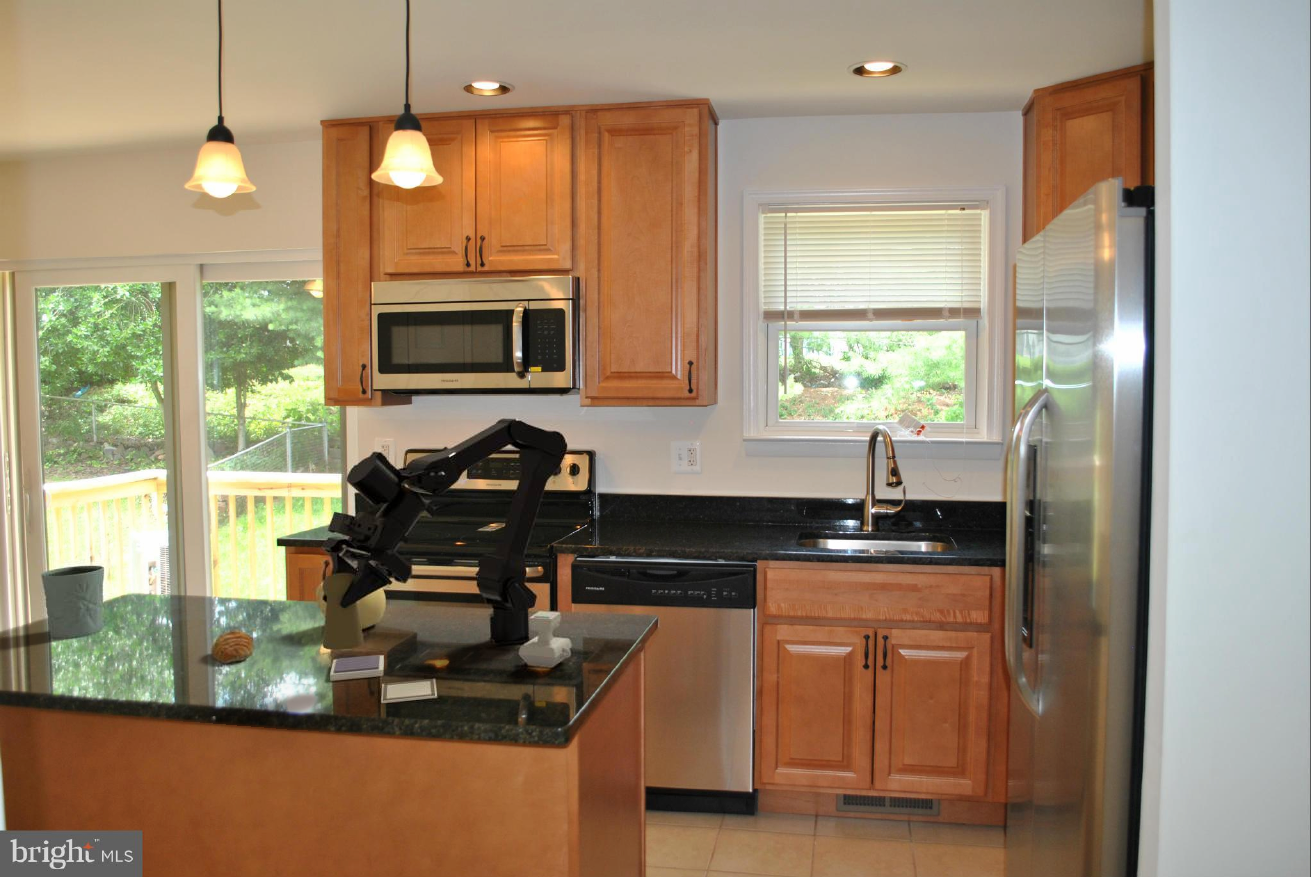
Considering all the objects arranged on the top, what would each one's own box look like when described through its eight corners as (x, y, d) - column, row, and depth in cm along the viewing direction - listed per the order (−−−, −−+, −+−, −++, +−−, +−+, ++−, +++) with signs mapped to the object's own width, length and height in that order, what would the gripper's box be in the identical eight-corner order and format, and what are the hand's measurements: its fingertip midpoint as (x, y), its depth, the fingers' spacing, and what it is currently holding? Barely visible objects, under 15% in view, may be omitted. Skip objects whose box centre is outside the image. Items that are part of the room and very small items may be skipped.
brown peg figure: (350, 650, 142) (346, 579, 141) (315, 648, 143) (311, 578, 142) (371, 638, 148) (367, 570, 147) (336, 637, 149) (333, 569, 148)
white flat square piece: (435, 680, 147) (435, 678, 147) (437, 697, 140) (436, 695, 140) (382, 685, 145) (382, 683, 145) (381, 703, 138) (381, 700, 138)
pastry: (258, 661, 159) (256, 639, 159) (214, 668, 156) (212, 646, 156) (252, 647, 167) (251, 627, 167) (210, 654, 164) (209, 632, 164)
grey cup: (48, 643, 171) (44, 578, 171) (42, 631, 179) (38, 569, 178) (111, 632, 178) (108, 570, 177) (102, 622, 186) (99, 562, 185)
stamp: (512, 668, 153) (511, 617, 153) (530, 656, 159) (529, 607, 159) (562, 673, 150) (561, 621, 150) (579, 660, 157) (578, 611, 156)
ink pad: (383, 661, 158) (383, 653, 158) (382, 675, 150) (382, 667, 150) (333, 665, 156) (333, 658, 156) (330, 680, 148) (330, 672, 148)
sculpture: (307, 630, 177) (305, 574, 176) (358, 616, 187) (356, 563, 187) (348, 639, 171) (346, 581, 170) (398, 623, 181) (396, 568, 181)
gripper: (329, 487, 153) (267, 566, 146) (391, 496, 140) (325, 583, 133) (375, 528, 159) (318, 605, 152) (438, 540, 146) (378, 625, 139)
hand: (333, 603), depth 144 cm, fingers closed on brown peg figure, 5 cm apart
